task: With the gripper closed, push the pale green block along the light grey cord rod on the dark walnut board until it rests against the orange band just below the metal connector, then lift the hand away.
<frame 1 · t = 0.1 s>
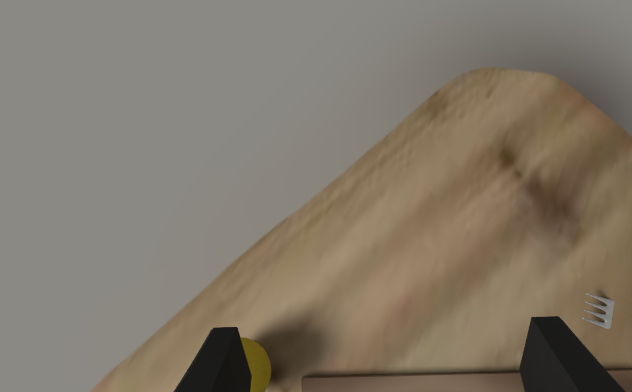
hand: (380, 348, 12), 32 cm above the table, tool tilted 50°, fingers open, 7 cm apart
lemon: (249, 366, 43), on the table
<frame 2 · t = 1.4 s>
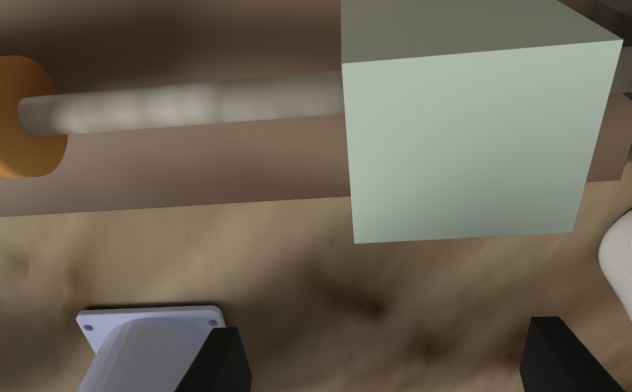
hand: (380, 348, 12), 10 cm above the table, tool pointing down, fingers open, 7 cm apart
pale green block: (443, 100, 12), point 6 cm above the table, slide at 0.0 cm
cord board: (250, 52, 17), on the table
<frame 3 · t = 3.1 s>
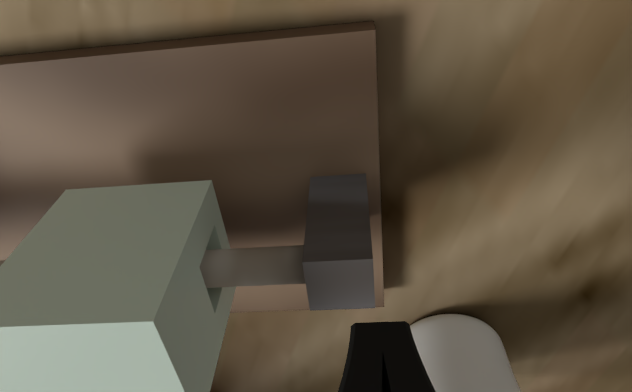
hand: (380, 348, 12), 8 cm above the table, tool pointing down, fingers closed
pale green block: (127, 297, 14), point 6 cm above the table, slide at 0.0 cm
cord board: (39, 202, 19), on the table
drinking glass: (443, 340, 24), on the table
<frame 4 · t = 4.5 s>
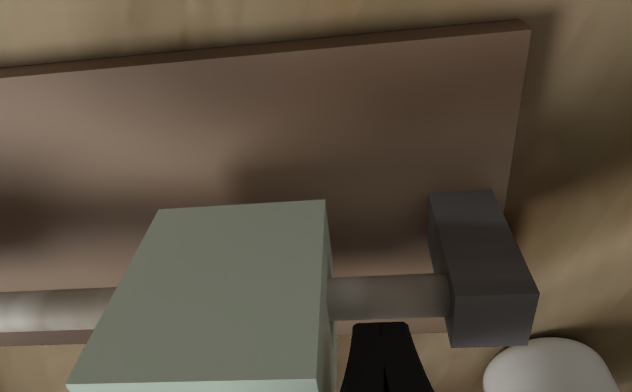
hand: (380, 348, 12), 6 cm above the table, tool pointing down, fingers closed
pale green block: (237, 333, 13), point 6 cm above the table, slide at 0.2 cm, touching gripper
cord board: (115, 218, 18), on the table
drinking glass: (536, 364, 22), on the table
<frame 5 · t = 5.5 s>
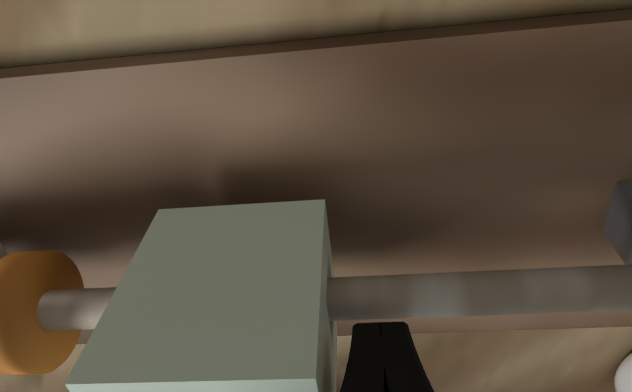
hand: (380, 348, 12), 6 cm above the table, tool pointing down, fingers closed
pale green block: (237, 333, 13), point 6 cm above the table, slide at 6.0 cm, touching gripper
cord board: (265, 209, 17), on the table
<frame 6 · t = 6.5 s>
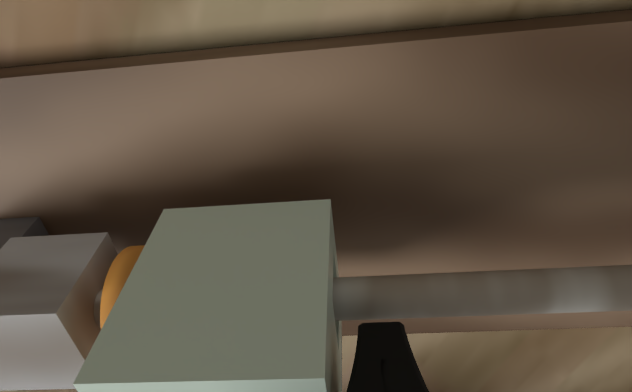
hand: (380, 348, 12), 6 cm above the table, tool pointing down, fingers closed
pale green block: (243, 333, 13), point 6 cm above the table, slide at 9.5 cm, touching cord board, gripper
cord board: (365, 203, 17), on the table
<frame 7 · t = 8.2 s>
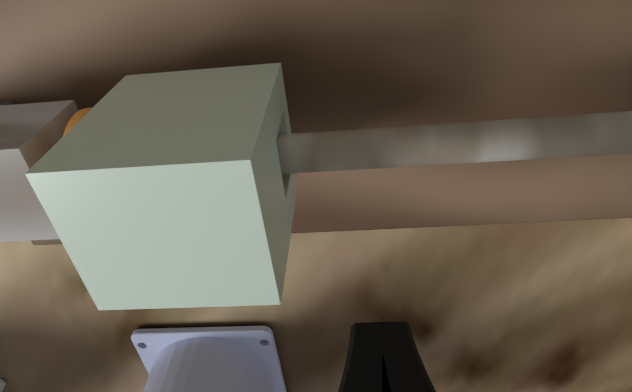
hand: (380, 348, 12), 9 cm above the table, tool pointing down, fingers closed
pale green block: (195, 178, 14), point 6 cm above the table, slide at 9.5 cm, touching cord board
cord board: (323, 92, 18), on the table
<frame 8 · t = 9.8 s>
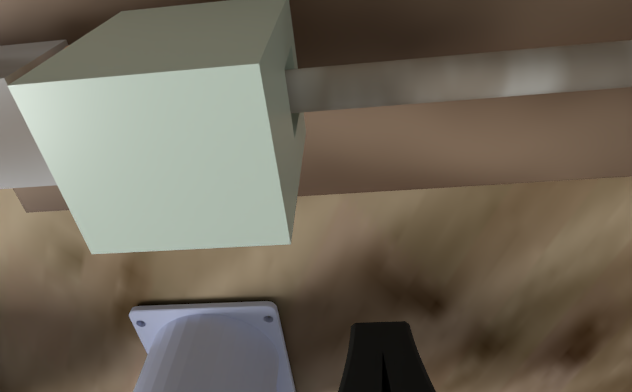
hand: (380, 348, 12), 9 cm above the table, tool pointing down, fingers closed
pale green block: (196, 115, 13), point 6 cm above the table, slide at 9.5 cm, touching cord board
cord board: (331, 40, 17), on the table
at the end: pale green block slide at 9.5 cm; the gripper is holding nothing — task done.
